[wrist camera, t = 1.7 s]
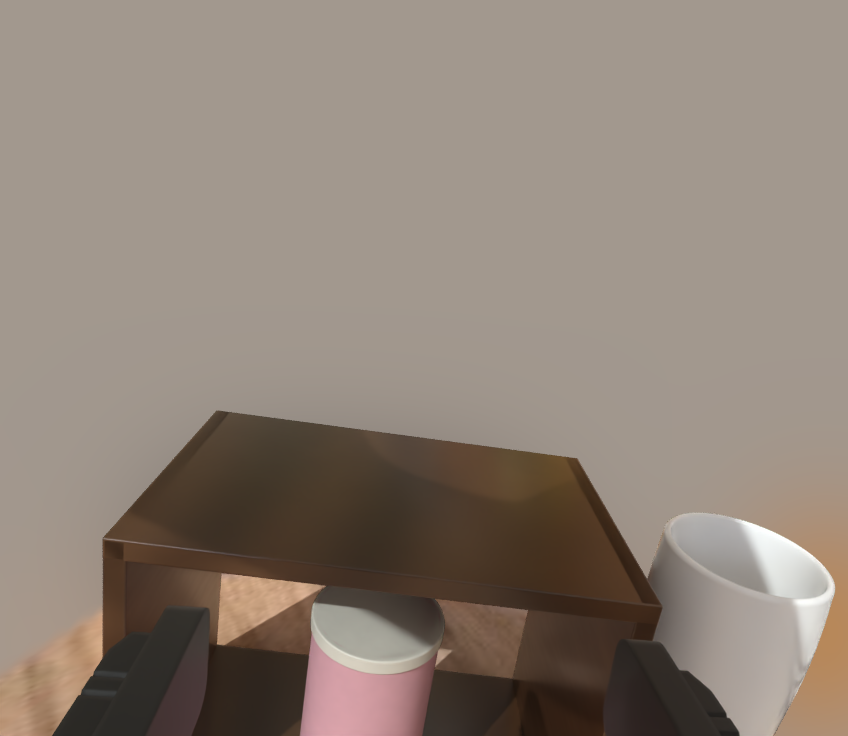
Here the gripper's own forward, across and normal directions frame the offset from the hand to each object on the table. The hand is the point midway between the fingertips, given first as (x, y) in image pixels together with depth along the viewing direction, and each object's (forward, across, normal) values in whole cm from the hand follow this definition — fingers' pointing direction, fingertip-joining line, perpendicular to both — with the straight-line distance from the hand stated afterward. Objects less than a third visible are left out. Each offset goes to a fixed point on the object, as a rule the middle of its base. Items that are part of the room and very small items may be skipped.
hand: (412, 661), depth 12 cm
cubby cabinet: (+15, 0, +18) cm, 23 cm away
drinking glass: (+14, -15, +19) cm, 27 cm away
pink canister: (+12, 0, +17) cm, 21 cm away
